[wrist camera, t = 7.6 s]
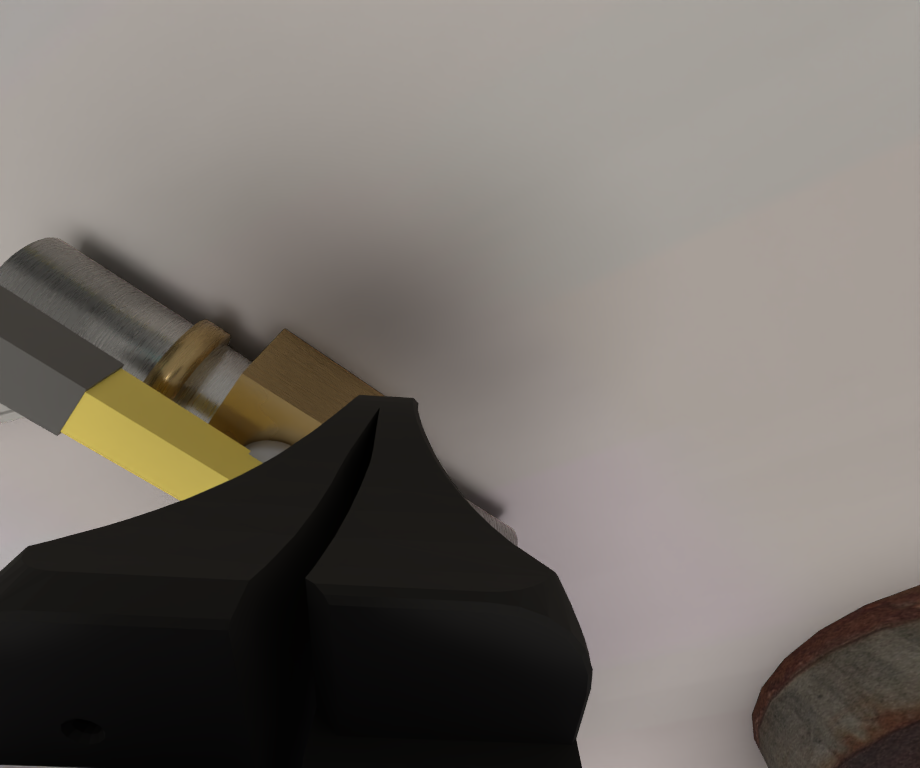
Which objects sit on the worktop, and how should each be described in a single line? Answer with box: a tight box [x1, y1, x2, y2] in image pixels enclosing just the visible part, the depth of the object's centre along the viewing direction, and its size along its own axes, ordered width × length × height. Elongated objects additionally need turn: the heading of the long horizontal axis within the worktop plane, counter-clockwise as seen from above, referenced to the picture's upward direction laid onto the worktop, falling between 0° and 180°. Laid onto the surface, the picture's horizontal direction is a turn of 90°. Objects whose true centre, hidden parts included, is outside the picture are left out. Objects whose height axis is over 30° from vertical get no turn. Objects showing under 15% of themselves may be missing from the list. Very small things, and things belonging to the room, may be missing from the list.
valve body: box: [0, 238, 517, 546], centre depth 20 cm, size 22×6×5 cm, turn 51°
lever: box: [0, 285, 291, 501], centre depth 16 cm, size 12×3×2 cm, turn 48°
